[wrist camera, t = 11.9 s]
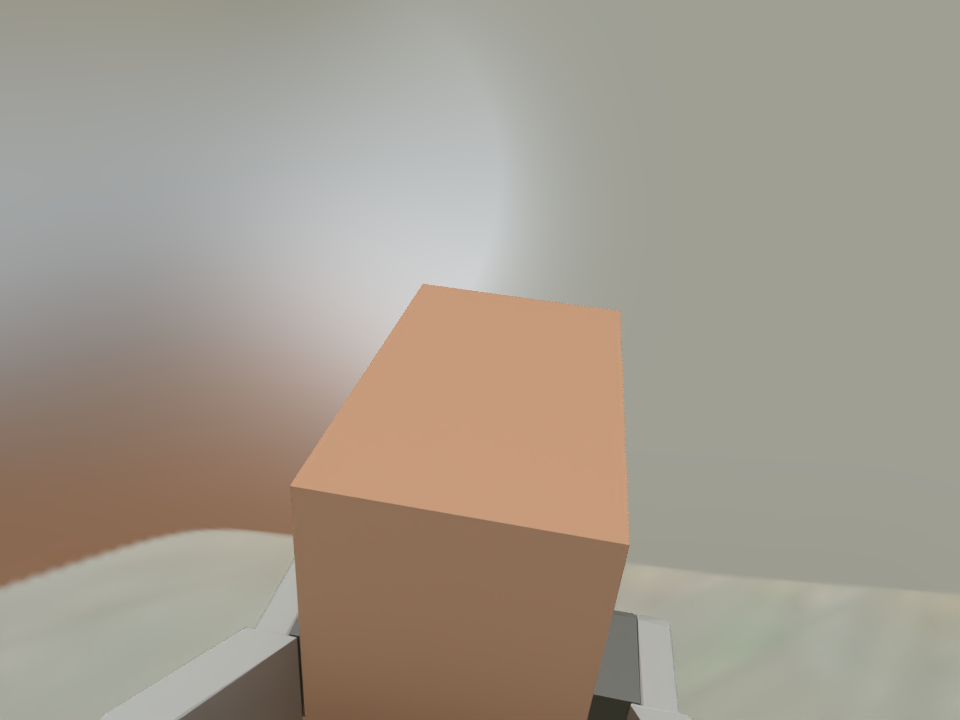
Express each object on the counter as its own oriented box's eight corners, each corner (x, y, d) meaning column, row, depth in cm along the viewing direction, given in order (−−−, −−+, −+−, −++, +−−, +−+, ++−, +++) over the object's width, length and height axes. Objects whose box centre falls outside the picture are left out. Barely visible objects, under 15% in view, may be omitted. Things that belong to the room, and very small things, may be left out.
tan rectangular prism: (528, 784, 16) (620, 311, 10) (498, 1084, 11) (629, 545, 6) (402, 757, 16) (423, 284, 10) (326, 1038, 12) (290, 485, 6)
